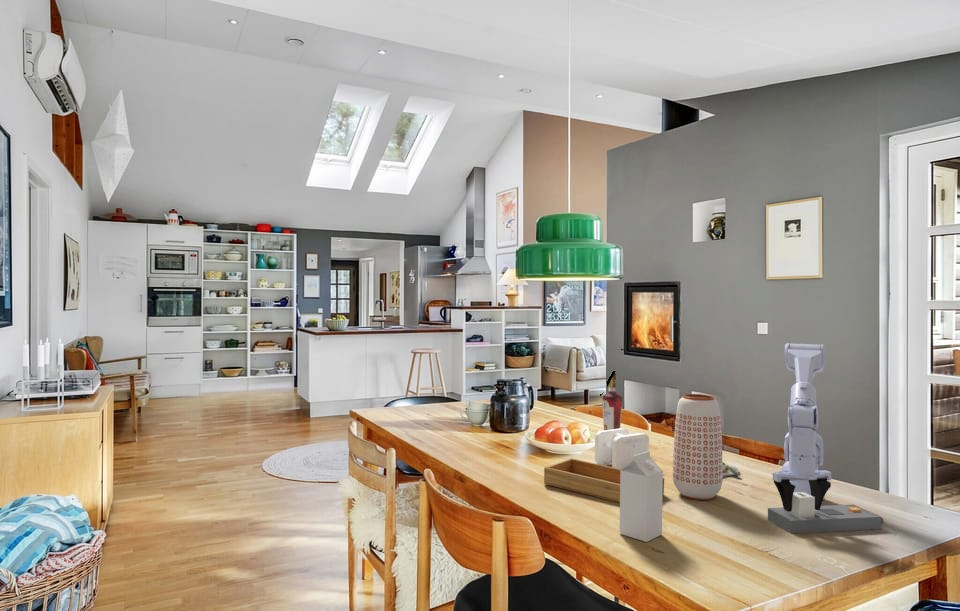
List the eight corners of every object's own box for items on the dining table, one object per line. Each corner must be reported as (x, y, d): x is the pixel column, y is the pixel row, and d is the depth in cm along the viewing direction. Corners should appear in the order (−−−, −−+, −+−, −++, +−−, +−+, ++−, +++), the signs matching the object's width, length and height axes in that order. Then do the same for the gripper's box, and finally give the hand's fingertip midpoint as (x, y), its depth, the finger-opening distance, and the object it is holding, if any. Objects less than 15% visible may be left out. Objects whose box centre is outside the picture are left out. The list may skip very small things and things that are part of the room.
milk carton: (619, 534, 142) (620, 453, 142) (635, 526, 147) (636, 448, 147) (646, 543, 137) (647, 459, 137) (662, 535, 142) (663, 453, 142)
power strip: (791, 533, 144) (791, 518, 144) (767, 519, 153) (767, 505, 153) (897, 528, 148) (898, 513, 148) (868, 515, 157) (869, 501, 157)
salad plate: (756, 477, 193) (757, 462, 193) (716, 483, 185) (716, 468, 185) (709, 462, 210) (709, 448, 210) (670, 467, 202) (670, 454, 202)
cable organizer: (626, 460, 209) (627, 427, 209) (650, 468, 200) (650, 433, 200) (594, 466, 202) (594, 431, 202) (616, 474, 193) (617, 437, 192)
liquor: (597, 445, 231) (598, 372, 231) (612, 443, 235) (613, 371, 235) (610, 449, 225) (611, 374, 225) (625, 447, 228) (626, 373, 228)
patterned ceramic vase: (699, 486, 180) (700, 391, 180) (733, 500, 168) (734, 398, 168) (662, 490, 176) (663, 393, 175) (694, 505, 163) (695, 400, 163)
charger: (788, 520, 151) (789, 492, 151) (803, 520, 151) (803, 491, 151) (799, 526, 147) (799, 497, 147) (814, 526, 147) (814, 497, 147)
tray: (664, 496, 172) (664, 476, 172) (640, 510, 160) (640, 488, 160) (570, 475, 192) (570, 457, 192) (543, 486, 180) (543, 467, 180)
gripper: (785, 459, 144) (785, 516, 144) (840, 457, 146) (840, 513, 146) (767, 451, 151) (766, 506, 151) (820, 450, 153) (819, 504, 153)
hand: (801, 509), depth 149 cm, fingers open, 7 cm apart
